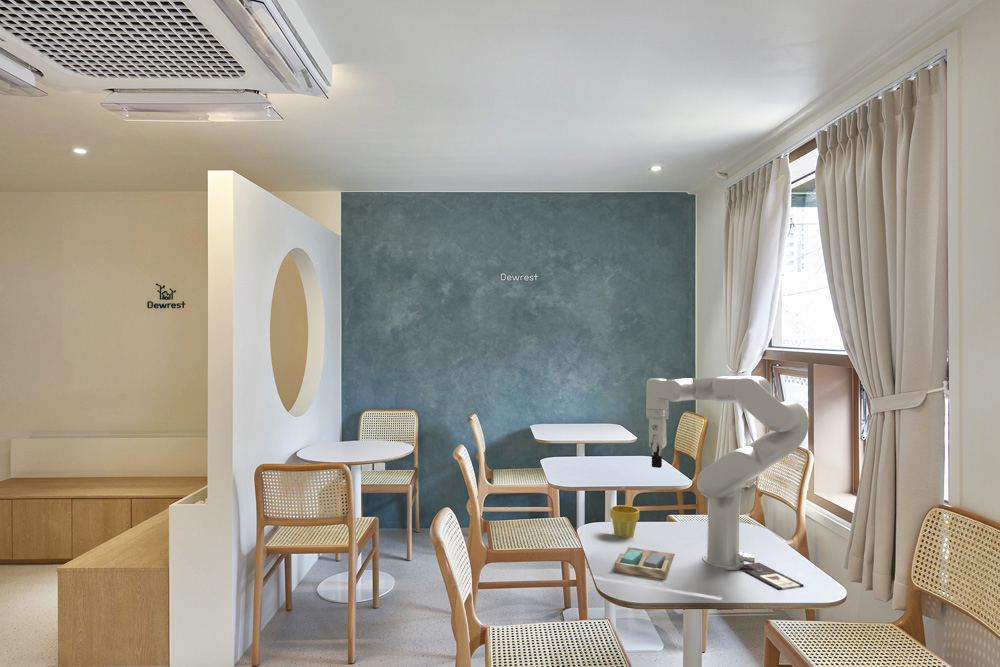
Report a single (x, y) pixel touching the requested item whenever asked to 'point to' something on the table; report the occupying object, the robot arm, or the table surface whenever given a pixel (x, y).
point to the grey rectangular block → (655, 561)
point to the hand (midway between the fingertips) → (656, 467)
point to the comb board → (643, 570)
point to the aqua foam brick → (632, 557)
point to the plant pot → (624, 520)
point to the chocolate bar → (770, 576)
